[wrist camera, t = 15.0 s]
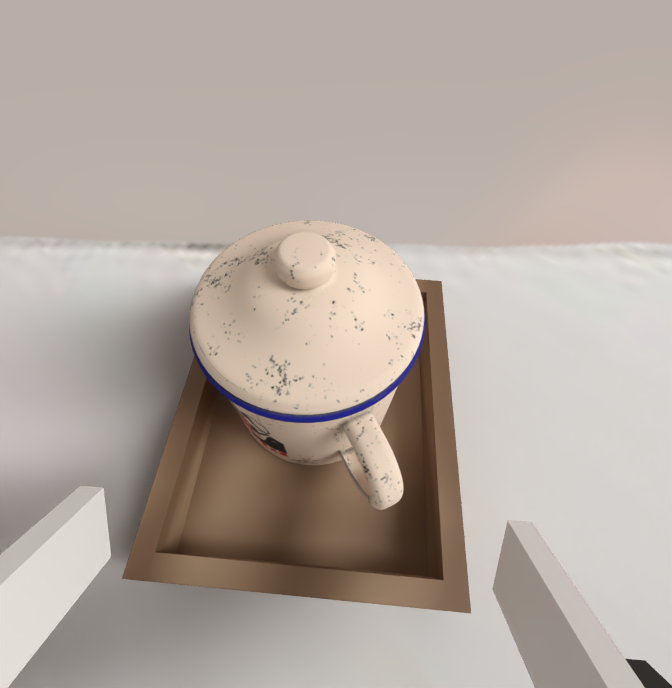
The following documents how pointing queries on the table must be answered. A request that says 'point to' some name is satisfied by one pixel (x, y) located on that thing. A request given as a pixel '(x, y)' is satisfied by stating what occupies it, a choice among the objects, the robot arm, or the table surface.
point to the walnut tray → (312, 502)
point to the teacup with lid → (312, 344)
